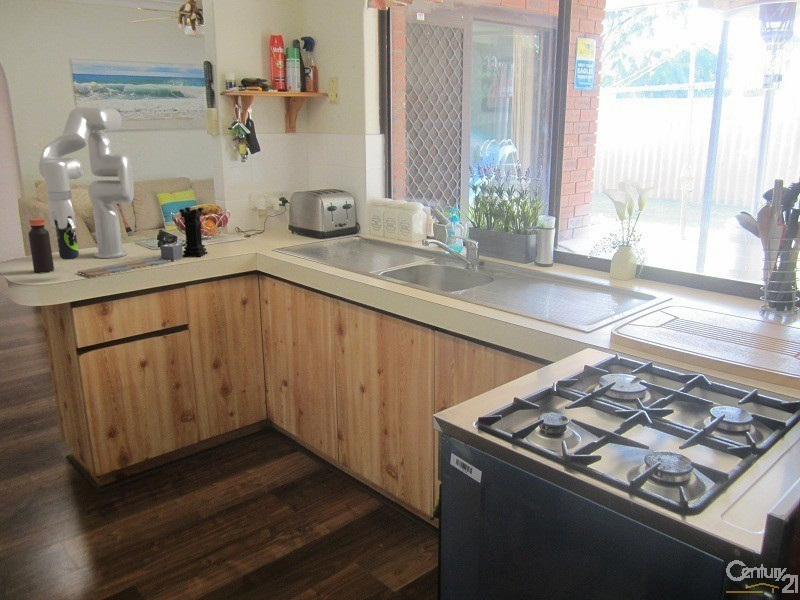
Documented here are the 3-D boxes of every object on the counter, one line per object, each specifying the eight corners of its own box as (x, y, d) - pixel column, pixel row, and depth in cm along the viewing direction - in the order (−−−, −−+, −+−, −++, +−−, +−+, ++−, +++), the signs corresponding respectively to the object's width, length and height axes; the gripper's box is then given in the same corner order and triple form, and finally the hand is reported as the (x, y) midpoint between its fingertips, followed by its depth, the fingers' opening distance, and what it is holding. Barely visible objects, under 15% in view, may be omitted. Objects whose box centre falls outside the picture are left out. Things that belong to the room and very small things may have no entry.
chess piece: (207, 253, 279) (204, 207, 274) (200, 257, 272) (196, 210, 266) (190, 253, 280) (186, 207, 275) (182, 256, 272) (178, 209, 267)
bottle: (31, 271, 246) (23, 219, 241) (50, 268, 251) (42, 217, 245) (38, 274, 242) (29, 221, 236) (57, 271, 246) (49, 219, 241)
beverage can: (57, 257, 234) (51, 216, 230) (75, 254, 238) (69, 214, 234) (63, 260, 230) (57, 219, 226) (81, 257, 234) (75, 216, 230)
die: (161, 260, 266) (160, 245, 264) (171, 257, 271) (169, 243, 269) (174, 261, 264) (172, 246, 262) (183, 258, 269) (181, 244, 268)
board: (77, 273, 242) (77, 271, 242) (154, 259, 267) (154, 257, 266) (91, 277, 237) (90, 275, 236) (168, 263, 261) (168, 260, 260)
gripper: (37, 195, 230) (45, 244, 235) (60, 199, 220) (68, 251, 225) (59, 192, 236) (66, 241, 241) (82, 197, 226) (89, 248, 231)
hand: (67, 245), depth 233 cm, fingers closed on beverage can, 4 cm apart
